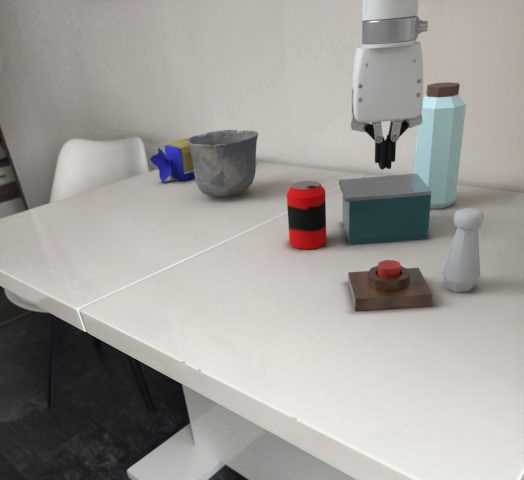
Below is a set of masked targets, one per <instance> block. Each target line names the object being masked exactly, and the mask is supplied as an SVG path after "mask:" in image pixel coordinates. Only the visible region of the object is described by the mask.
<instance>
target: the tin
mask: <svg viewBox="0 0 524 480" xmlns="http://www.w3.org/2000/svg"><path fill="white" fill-rule="evenodd" d="M430 203H431V195H425V196H413V197H400V198H387V199H375V200H362V201H349V202H345V200H344V197H343V196H342V225H343V228H344V232H345V235H346V238H347V239H346V240H347V241H348V244H349V245H360V244H361V245H362V244H375V243H387V242H390V243H391V242H402V241H416V240H427V239H428V236H429V224H430V213H431V209H430Z"/></svg>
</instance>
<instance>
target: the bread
mask: <svg viewBox="0 0 524 480" xmlns="http://www.w3.org/2000/svg"><path fill="white" fill-rule="evenodd" d="M204 134H205V133H203V134H198V135H197V136H202V135H204ZM191 137H192V136H190V137H187V138H182V139H179V140H175V141H172V142H169V143H166V144H165V145H164V151H163V150H162V149H161V148H160V147H157V151H158V152H157V153H156V154H154V155H152V156H151V157H150V158H149V160H150V161H151V163H152V164H153V165H155V166H157V170H158V171H159V172H158V173H159V174H158V175H159V179H160V181H161V183H165V182H166V180H167V179H168V178H169V177H171V179H176V180H179V181H183V182H187V181H191V180H194V179H195V175H194V167H193V159H192V155H191V150H190V147H189V143H188V139H189V138H191Z"/></svg>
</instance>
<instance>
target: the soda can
mask: <svg viewBox="0 0 524 480" xmlns="http://www.w3.org/2000/svg"><path fill="white" fill-rule="evenodd" d="M286 205H287V208H286V209H287V222H288V238H289V239H288V240H289V245H290V246H291V247H293V248H294V249H297V250H306V251H307V250H308V251H309V250H315V249H319V248H321V247H323V246H324V245H325V244H326V243H327V214H326V213H327V209H326V208H327V207H326V205H327V203H326V189H325V188H324V187H323V186H322V184H321V183H320V182H319V181H317V180H301V181H296V182H294V183H292V184H291V185H290V187H289V188H288V190H287V191H286Z"/></svg>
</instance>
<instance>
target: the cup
mask: <svg viewBox="0 0 524 480" xmlns="http://www.w3.org/2000/svg"><path fill="white" fill-rule="evenodd" d="M203 134H204V135H202V134H201V135H202V136H198V135H192V136H190V137H191V138H190V137H188V138H189V139H188V143H189V147H190V150H191V155H192V159H193V167H194V175H195V178H194V179H195V183H196V185H197V188H198V189H199V191H201V193H202V194H204V195H207V196H208V197H213V198H227V197H233V196H238V195H239V194H242V193H244V192H245V191H246V190H248V189H249V188H250V187H251V186H252V185H253V182H254V180H255V177H256V168H257V142H258V137H259V132H258V131H255V130H245V129H243V130H239V131H238V129H224V130H223V129H222V130H216V131H215V130H214V131H209V132H206V133H203Z"/></svg>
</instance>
